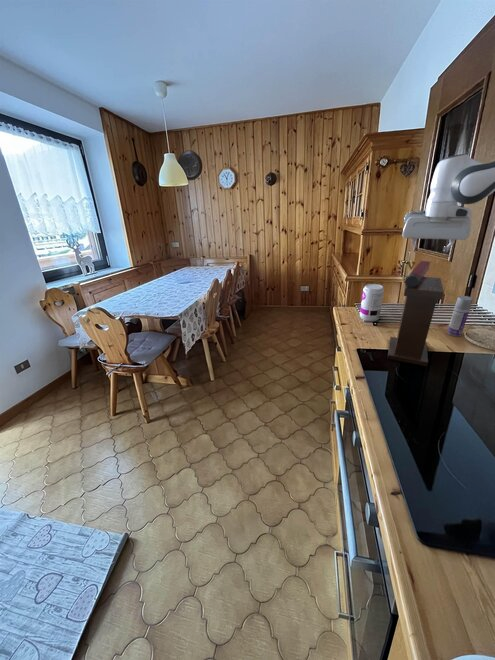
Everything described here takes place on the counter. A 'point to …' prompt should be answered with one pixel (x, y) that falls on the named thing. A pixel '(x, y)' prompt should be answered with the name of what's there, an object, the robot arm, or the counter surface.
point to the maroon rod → (417, 274)
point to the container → (459, 315)
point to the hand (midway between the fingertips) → (429, 251)
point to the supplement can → (371, 302)
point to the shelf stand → (416, 322)
